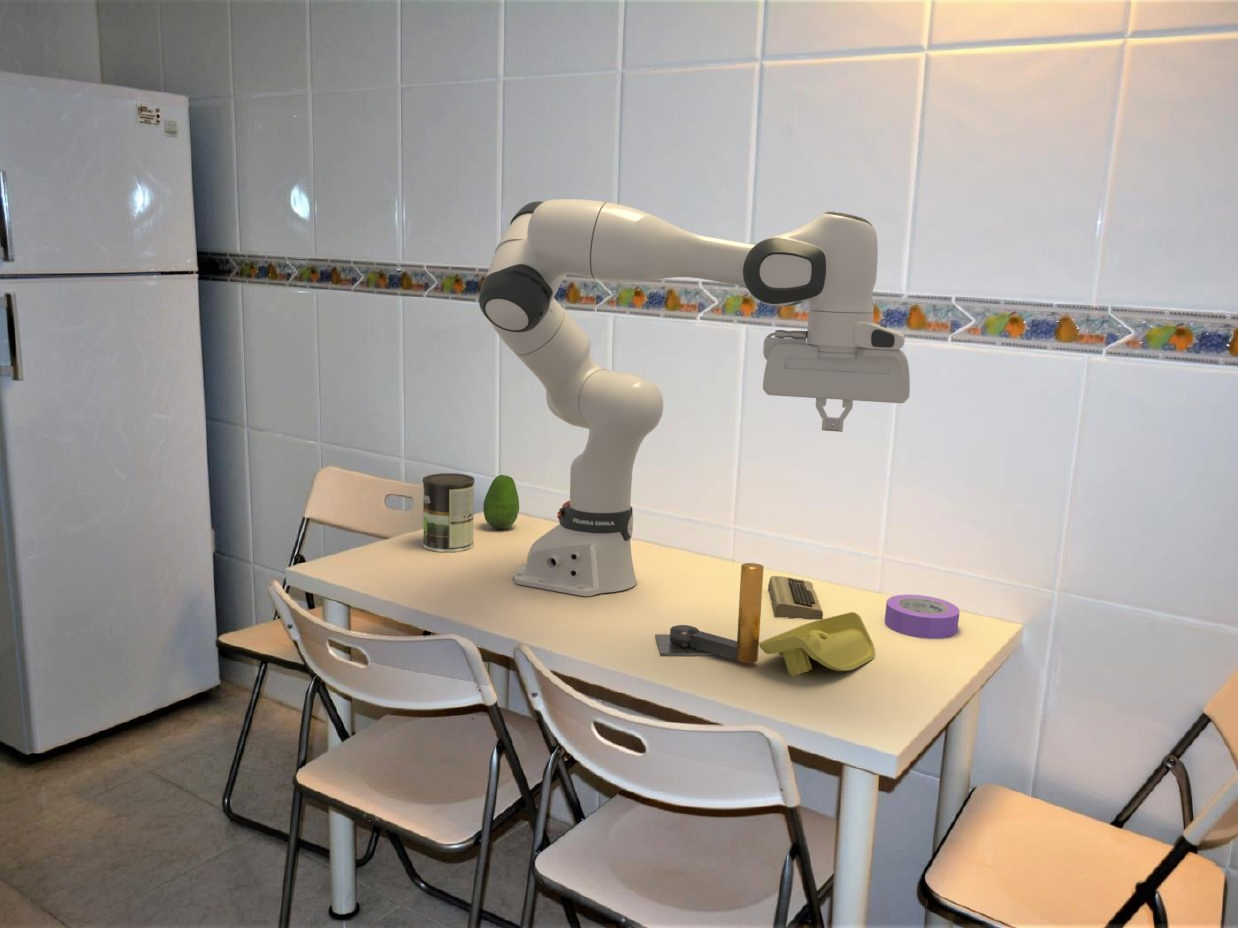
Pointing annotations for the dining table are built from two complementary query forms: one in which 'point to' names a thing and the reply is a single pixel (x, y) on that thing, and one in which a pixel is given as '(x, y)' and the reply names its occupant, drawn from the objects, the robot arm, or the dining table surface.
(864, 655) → the plastic component
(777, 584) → the computer
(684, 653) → the pivot plate
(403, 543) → the dining table surface
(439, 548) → the coffee can
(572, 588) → the robot arm
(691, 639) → the crank handle
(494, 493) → the avocado
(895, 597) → the masking tape
